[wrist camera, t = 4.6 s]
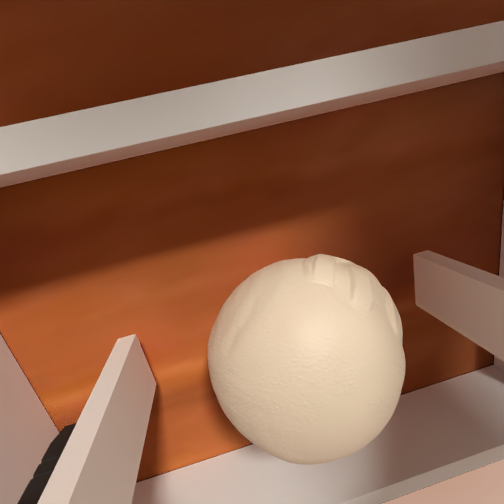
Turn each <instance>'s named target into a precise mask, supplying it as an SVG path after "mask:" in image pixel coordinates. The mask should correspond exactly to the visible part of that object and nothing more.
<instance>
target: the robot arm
mask: <svg viewBox="0 0 504 504" xmlns="http://www.w3.org/2000/svg"><path fill="white" fill-rule="evenodd" d="M413 263H414V282H415V302H416V305H417V306H418V307H420V308H421V309H423V310H424V311H426V312H427V313H429V314H431V315H432V316H434V317H435V318H437V319H438V320H440V321H441V322H443V323H445V324H446V325H448V326H449V327H451V328H452V329H454V330H456V331H457V332H459V333H460V334H462V335H463V336H465V337H466V338H468V339H470V340H471V341H473V342H474V343H476V344H477V345H479V346H481V347H482V348H484V349H485V350H487V351H488V352H490V353H491V354H493V355H495V356H496V357H498V358H499V359H501V360H502V361H504V278H503V277H500V276H497V275H495V274H492V273H489V272H487V271H484V270H481V269H478V268H476V267H473V266H470V265H467V264H465V263H462V262H459V261H456V260H454V259H451V258H448V257H445V256H443V255H440V254H437V253H434V252H432V251H429V250H426V251H423V252H419V253H416V254H413ZM155 389H156V382H155V379H154V377H153V374H152V372H151V369H150V367H149V365H148V362H147V360H146V357H145V355H144V352H143V350H142V348H141V345H140V343H139V340H138V338H137V336H136V334H133V335H130V336H126V337H123V338H119V339H118V340H117V342H116V344H115V346H114V348H113V350H112V352H111V354H110V356H109V358H108V360H107V362H106V364H105V366H104V368H103V370H102V372H101V374H100V377H99V379H98V381H97V383H96V385H95V387H94V389H93V391H92V393H91V395H90V397H89V399H88V401H87V403H86V405H85V407H84V409H83V411H82V413H81V415H80V417H79V419H78V422H77V423H75V424H72V425H68V426H65V427H64V428H63V430H62V431H61V432H60V433H59V434H58V435H57V436H56V438H55V439H54V440H53V441H52V442H51V443H50V445H49V447H48V449H47V451H46V452H45V454H44V456H43V458H42V460H41V464H39V465H38V467H37V469H36V471H35V472H34V474H33V479H31V480H30V482H29V483H28V485H27V487H26V489H25V491H24V492H23V494H22V496H21V498H20V500H19V502H18V503H17V504H132V499H133V494H134V489H135V484H136V480H137V475H138V470H139V465H140V460H141V456H142V451H143V446H144V441H145V437H146V432H147V427H148V422H149V417H150V413H151V408H152V403H153V398H154V393H155Z"/></svg>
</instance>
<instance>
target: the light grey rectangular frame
mask: <svg viewBox="0 0 504 504" xmlns="http://www.w3.org/2000/svg"><path fill="white" fill-rule="evenodd" d="M501 72H504V20H503V21H499V22H494V23H489V24H485V25H480V26H475V27H470V28H466V29H461V30H456V31H452V32H447V33H442V34H437V35H433V36H428V37H423V38H419V39H414V40H409V41H404V42H400V43H395V44H390V45H386V46H381V47H376V48H371V49H367V50H362V51H357V52H352V53H348V54H343V55H338V56H334V57H329V58H324V59H319V60H315V61H310V62H305V63H301V64H296V65H291V66H286V67H282V68H277V69H272V70H268V71H263V72H258V73H253V74H249V75H244V76H239V77H235V78H230V79H225V80H220V81H216V82H211V83H206V84H202V85H197V86H192V87H187V88H183V89H178V90H173V91H168V92H164V93H159V94H154V95H150V96H145V97H140V98H135V99H131V100H126V101H121V102H117V103H112V104H107V105H102V106H98V107H93V108H88V109H84V110H79V111H74V112H69V113H65V114H60V115H55V116H51V117H46V118H41V119H36V120H32V121H27V122H22V123H17V124H13V125H8V126H3V127H0V188H1V187H5V186H10V185H14V184H18V183H23V182H27V181H31V180H36V179H40V178H45V177H49V176H53V175H58V174H62V173H66V172H71V171H75V170H79V169H84V168H88V167H92V166H97V165H101V164H105V163H110V162H114V161H118V160H123V159H127V158H131V157H136V156H140V155H145V154H149V153H153V152H158V151H162V150H166V149H171V148H175V147H179V146H184V145H188V144H192V143H197V142H201V141H205V140H210V139H214V138H218V137H223V136H227V135H232V134H236V133H240V132H245V131H249V130H253V129H258V128H262V127H266V126H271V125H275V124H279V123H284V122H288V121H292V120H297V119H301V118H305V117H310V116H314V115H319V114H323V113H327V112H332V111H336V110H340V109H345V108H349V107H353V106H358V105H362V104H366V103H371V102H375V101H379V100H384V99H388V98H392V97H397V96H401V95H405V94H410V93H414V92H419V91H423V90H427V89H432V88H436V87H440V86H445V85H449V84H453V83H458V82H462V81H466V80H471V79H475V78H479V77H484V76H488V75H492V74H497V73H501ZM499 276H500V277H503V278H504V202H503V219H502V236H501V253H500V269H499ZM58 434H59V431H58V430H57V428H56V426H55V425H54V423H53V421H52V420H51V418H50V416H49V415H48V413H47V411H46V410H45V408H44V406H43V405H42V403H41V401H40V400H39V398H38V396H37V395H36V393H35V391H34V390H33V388H32V386H31V385H30V383H29V381H28V379H27V378H26V376H25V374H24V373H23V371H22V369H21V368H20V366H19V364H18V363H17V361H16V359H15V358H14V356H13V354H12V353H11V351H10V349H9V348H8V346H7V344H6V343H5V341H4V339H3V338H2V336H1V334H0V504H17V503H18V502H19V500H20V498H21V496H22V494H23V492H24V491H25V489H26V487H27V485H28V483H29V482H30V480H31V479H33V474H34V472H35V471H36V469H37V467H38V465H39V464H41V460H42V458H43V456H44V454H45V452H46V451H47V449H48V447H49V445H50V443H51V442H52V441H53V440H54V439H55V438H56V436H57V435H58ZM502 459H504V361H502V360H501V359H499V358H498V357H496V356H495V355H494V365H491V366H488V367H485V368H482V369H479V370H476V371H473V372H470V373H467V374H464V375H461V376H458V377H455V378H452V379H449V380H446V381H443V382H440V383H436V384H433V385H430V386H427V387H424V388H421V389H418V390H415V391H412V392H409V393H406V394H403V395H400V398H399V400H398V403H397V406H396V408H395V411H394V413H393V415H392V417H391V418H390V420H389V422H388V423H387V424H386V426H385V427H384V428H383V430H382V431H381V433H379V435H378V436H377V437H375V438H374V439H373V440H372V441H371V442H370V443H369V444H367V445H366V446H365V447H364V448H362V449H361V450H359V451H358V452H356V453H354V454H351V455H349V456H347V457H343V458H341V459H338V460H335V461H332V462H327V463H322V464H313V465H302V464H301V465H300V464H294V463H290V462H286V461H284V460H281V459H278V458H277V457H275V456H273V455H271V454H269V453H267V452H265V451H263V450H262V449H260V448H259V447H257V446H256V445H254V444H252V445H249V446H246V447H243V448H240V449H237V450H234V451H231V452H228V453H225V454H222V455H219V456H216V457H213V458H210V459H207V460H204V461H201V462H198V463H195V464H192V465H189V466H186V467H183V468H180V469H177V470H174V471H171V472H168V473H165V474H162V475H159V476H156V477H152V478H149V479H146V480H143V481H140V482H137V483H136V484H135V489H134V494H133V499H132V504H381V503H384V502H387V501H390V500H392V499H395V498H398V497H401V496H403V495H406V494H409V493H412V492H414V491H417V490H420V489H422V488H425V487H428V486H431V485H433V484H436V483H439V482H442V481H445V480H447V479H450V478H453V477H455V476H458V475H461V474H464V473H466V472H469V471H472V470H475V469H477V468H480V467H483V466H486V465H488V464H491V463H494V462H497V461H499V460H502Z"/></svg>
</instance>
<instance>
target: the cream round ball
mask: <svg viewBox="0 0 504 504" xmlns="http://www.w3.org/2000/svg"><path fill="white" fill-rule="evenodd" d="M402 337H403V331H402V322H401V318H400V315H399V312H398V310H397V308H396V306H395V304H394V302H393V300H392V298H391V296H390V294H389V293H388V291H387V290H386V289H385V288H384V287H383V286H381V284H380V283H379V281H378V280H377V278H376V277H375V276H374V275H373V274H372V273H371V272H370V271H369V270H367V269H365V268H363V267H361V266H359V265H356V264H354V263H353V262H351V261H348V260H345V259H342V258H339V257H334V256H330V255H325V254H317V255H314V256H310V257H309V258H297V259H289V260H283V261H278V262H275V263H273V264H270V265H268V266H266V267H263V268H262V269H260V270H258V271H256V272H254V273H253V274H251V275H250V276H249V277H247V278H246V279H245V280H244V281H243V282H242V283H241V284H240V285H239V286H237V287H236V288H235V289H234V291H233V292H232V293H231V295H230V296H229V297H228V299H227V300H226V301H225V303H224V304H223V306H222V308H221V310H220V312H219V314H218V317H217V319H216V320H215V323H214V325H213V328H212V330H211V333H210V337H209V341H208V349H207V356H208V365H209V366H208V367H209V373H210V379H211V383H212V386H213V389H214V392H215V394H216V396H217V399H218V402H219V404H220V406H221V408H222V410H223V412H224V413H225V414H226V416H227V417H228V419H229V420H230V421H231V423H232V424H233V425H234V426H235V427H236V429H237V430H238V431H239V432H240V433H241V434H242V435H243V436H244V437H245V438H246V439H248V440H249V441H250V442H251V443H253V444H254V445H256V446H257V447H259V448H260V449H262V450H263V451H265V452H267V453H269V454H271V455H273V456H275V457H277V458H278V459H281V460H284V461H286V462H290V463H294V464H300V465H301V464H302V465H313V464H322V463H327V462H332V461H335V460H338V459H341V458H343V457H347V456H349V455H351V454H354V453H356V452H358V451H359V450H361V449H362V448H364V447H365V446H366V445H367V444H369V443H370V442H371V441H372V440H373V439H374V438H375V437H377V436H378V435H379V433H381V431H382V430H383V428H384V427H385V426H386V424H387V423H388V422H389V420H390V418H391V417H392V415H393V413H394V411H395V408H396V406H397V403H398V400H399V398H400V394H401V390H402V385H403V382H404V377H405V369H406V362H405V354H404V350H403V346H402V343H403V340H402Z"/></svg>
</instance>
